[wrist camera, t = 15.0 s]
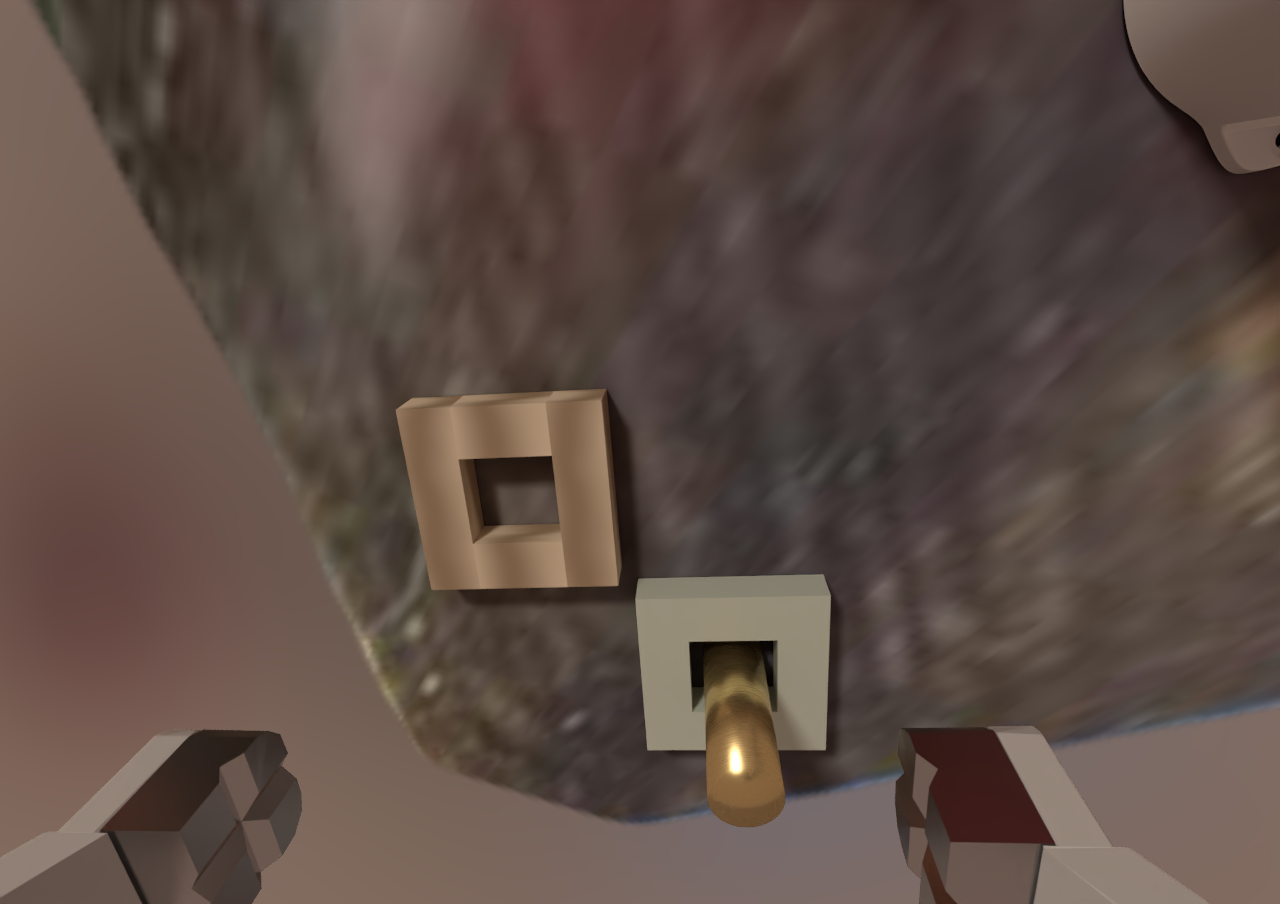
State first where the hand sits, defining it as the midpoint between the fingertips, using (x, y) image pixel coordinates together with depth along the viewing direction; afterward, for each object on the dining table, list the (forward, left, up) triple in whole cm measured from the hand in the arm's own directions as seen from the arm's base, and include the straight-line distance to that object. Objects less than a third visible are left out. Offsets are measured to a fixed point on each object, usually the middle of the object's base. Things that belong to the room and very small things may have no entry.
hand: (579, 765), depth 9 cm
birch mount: (+10, +9, -32) cm, 35 cm away
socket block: (-3, +22, -32) cm, 39 cm away
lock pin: (-3, +22, -32) cm, 39 cm away
